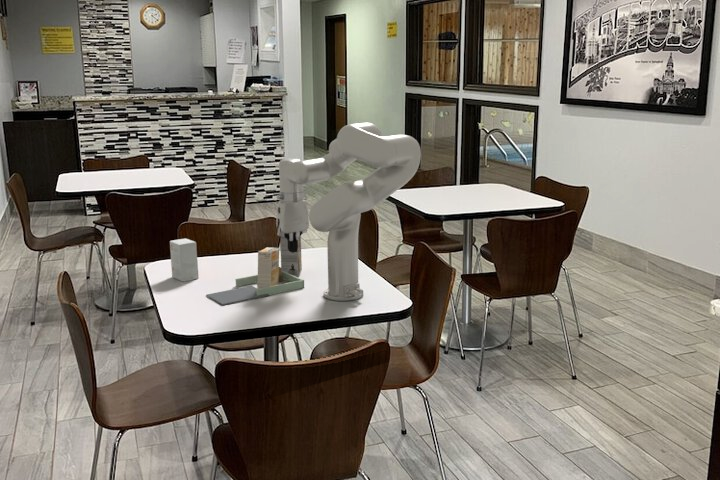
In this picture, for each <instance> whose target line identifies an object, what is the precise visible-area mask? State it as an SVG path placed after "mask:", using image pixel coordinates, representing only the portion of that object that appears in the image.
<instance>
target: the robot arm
mask: <svg viewBox="0 0 720 480" xmlns="http://www.w3.org/2000/svg"><path fill="white" fill-rule="evenodd" d="M421 151H422V150H421V146H420V143H419V142H418V140H417V139H415V138H414V137H413V136H411V135H407V134H394V135H385V136H383V134H382V131H381V128H379V127H378V126H377V125H376V124H374V123H371V122H360V123H359V122H358V123H350V124H347V125H343V127H342V128H340V130H339V131H338V133H337V136H336V138H335V139H334V140H332V141H331V142H330V144H329V146H328V152H329V153H327V154H324V155H322V157H319V158H313V159H312V158H311V159H305V160H301V159H299V158H294V157H293V158H292V157H288V158H282V159H280V161H279V163H278V165H279V167H278V168H279V169H278V170H279V176H278V177H279V192H278V193H279V194H277V195H276V199H277V200H279V201H278V203H277V208H276V220H275V221H276V223H275V224H276V230H277V236H279V237H280V236H282V237H285V238H286V239H287V241H288V251H290V252H292V253H294V252H297V249H298V240H299V237H300V236H301V237H302V235H303V234H305V233H307V232H308V229H309V227H310V225H311V226H312V228H313V229H314V230H316V231H318V232H321V233H327V232H328V235H327V283H328V288H326V289H325V290H324V291H323V297H324V298H325V299H327V300H331V301H337V302H344V301H345V302H347V301H354V300H358V299H360V298H362V297H363V296H364V290H363V289H362V288H361V287H360V283H359V229H360V222H361V216H362V215H361V214H362V213H365V212H369V211H371V210H372V209H374V208H375V207H377V206H378V205H379V204H380V203H382V202H383V201H385V200H386V199H387V198H389V197H390V196H392V194H394V193H395V192H397V191H399V190H400V189H401V188H402V187H404V186H405V185H406V184H408V182H410V180H411V179H412V178H413V177H414V176H415V175H416V173H417V172H418V169H419V166H420V162H421V158H422V154H421V153H422V152H421ZM357 160H358V161H360V162H363V163H365V164H368V165H370V166H372V167H375V168H376V169H375V170H374V171H373V172H371V173H370V174H369V175H367V176H365V177H364V178H362V179H358V180H353V181H349V182H345V183H342V184H340V185H339V184H338V185H337V186H336V187H334V188H333V189H331V190H330V191H328V193H326V194H325V195H323V196H322V197H321V198H319V199H318V200H316V202H315V203H313V205H312V206H311V208H310V210H308V206H307V205H308V204H307V200H306V199H304V186H306V185H312V184H316V183H321V182H326V181H328V180H330V179H332V178H334V177H335V176H337V175H339V174H341V173H342V172H344V171H345V170H346V168H348V166H349V165H350V164H352V163H354V162H355V161H357ZM283 232H284V233H283Z"/></svg>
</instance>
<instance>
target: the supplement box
mask: <svg viewBox="0 0 720 480" xmlns="http://www.w3.org/2000/svg"><path fill="white" fill-rule="evenodd" d="M279 267H280V247H265V248H263V249H261V250H258V251H257V275H258V281H257V284H256V285H257V287H256V288H257V289H260V288H265V287H270V286H275V285H279V283H278V277H279Z"/></svg>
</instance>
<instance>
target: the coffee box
mask: <svg viewBox="0 0 720 480" xmlns="http://www.w3.org/2000/svg"><path fill="white" fill-rule="evenodd" d="M283 233H284V232H283ZM301 237H302V235H301V236H300V237H299V240H298V249H297V252H294V253H292V252H290V251H288V241H287V239H286V238H285V237H282V236H279V243H280V244H279V245H280V246H279V252H280V267H281V271H284V272H286V273H288V274H291V275H293V276H295V277H298V278H300V275H301V273H302V269H303V265H302V264H303V262H302V238H301Z"/></svg>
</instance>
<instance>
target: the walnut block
mask: <svg viewBox="0 0 720 480" xmlns="http://www.w3.org/2000/svg"><path fill="white" fill-rule="evenodd" d="M279 283H280V284H281V283H283V279H282V271H281V266H279V277H278V284H279Z"/></svg>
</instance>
